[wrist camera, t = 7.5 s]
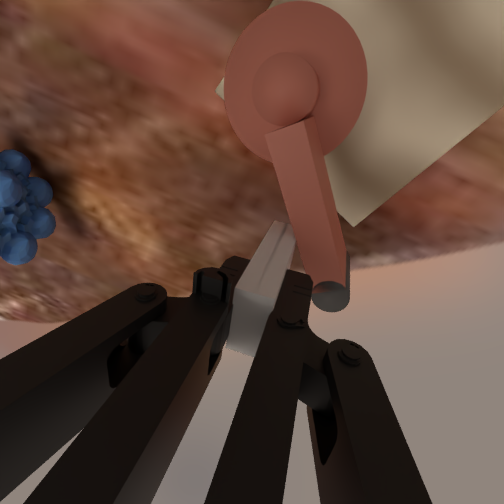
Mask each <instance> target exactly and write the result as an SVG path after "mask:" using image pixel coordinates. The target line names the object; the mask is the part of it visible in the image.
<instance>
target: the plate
mask: <svg viewBox="0 0 504 504" xmlns="http://www.w3.org/2000/svg"><path fill="white" fill-rule="evenodd" d="M291 1H311V2H315V3H319V4H322V5H324V6H326V7H329V8H331V9H332V10H334V11H335V12H337V13H338V14H340V15H341V16H342V17H343V18H344V19H345V20H346V21H347V22H348V23H349V24H350V26H351V27H352V28H353V29H354V31H355V33H356V35H357V36H358V38H359V40H360V42H361V45H362V47H363V50H364V54H365V58H366V63H367V72H368V79H367V91H366V97H365V101H364V105H363V108H362V111H361V113H360V116H359V118H358V120H357V122H356V124H355V126H354V127H353V129H352V130H351V132H350V133H349V134H348V136H347V137H346V138H345V139H344V140H343V142H342V143H341V144H340V145H338V146H337V147H336V148H335V149H334V150H333V151H331V152H330V153H328V154H327V155H325V156H324V159H325V163H326V168H327V172H328V176H329V180H330V184H331V189H332V193H333V197H334V201H335V205H336V209H337V212H338V213H339V214H340V215H342V216H343V217H344V218H345V219H346V220H347V221H348V222H349V223H350V224H351V225H352V226H353V227H355V226H356V225H357V224H358V223H359V222H361V221H362V220H363V219H364V218H366V217H367V216H368V215H369V214H371V213H372V212H373V211H374V210H376V209H377V208H378V207H379V206H381V205H382V204H383V203H384V202H385V201H387V200H388V199H389V198H390V197H392V196H393V195H394V194H395V193H397V192H398V191H399V190H400V189H402V188H403V187H404V186H405V185H406V184H408V183H409V182H410V181H411V180H413V179H414V178H415V177H416V176H418V175H419V174H420V173H421V172H423V171H424V170H425V169H426V168H428V167H429V166H430V165H431V164H432V163H434V162H435V161H436V160H437V159H439V158H440V157H441V156H442V155H444V154H445V153H446V152H447V151H449V150H450V149H451V148H452V147H454V146H455V145H456V144H457V143H458V142H460V141H461V140H462V139H463V138H465V137H466V136H467V135H468V134H470V133H471V132H472V131H473V130H475V129H476V128H477V127H478V126H479V125H481V124H482V123H483V122H484V121H486V120H487V119H488V118H489V117H491V116H492V115H493V114H494V113H496V112H497V111H498V110H499V109H501V108H502V107H503V106H504V0H273V1H272V3H271V5H270V6H269V8H268V9H270V8H272V7H274V6H277V5H279V4H282V3H286V2H291ZM268 9H267V10H268ZM215 92H216V93H217V94H218V95H219V96H220V97H221V98H222V99H223V100H224V78H223V79H222V81H221V82H220V84H219V85H218V87H217V88H216V90H215Z"/></svg>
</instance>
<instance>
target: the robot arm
mask: <svg viewBox="0 0 504 504" xmlns="http://www.w3.org/2000/svg"><path fill="white" fill-rule="evenodd" d="M295 246H296V238H295V235H294V232H293V228H292V225H291V224H288V223H284V222H280V221H276V220H274V222H273V223H272V225H271V227H270V229H269V230H268V232H267V234H266V235H265V237H264V239H263V240H262V242H261V244H260V246H259V247H258V249H257V251H256V252H255V254H254V256H253V257H252V259H251V260H249V259H245V258H241V257H237V256H233V257H231V258H229V259H227V260H226V261H225V262H224V263H223V265H222V266H221V267H220V269H219V268H213V267H210V268H202V269H199V270H197V271H196V272H194V276H193V291H192V294H191V295H190V297H167V292H166V289H165V288H163V287H162V286H161V285H158V284H155V283H141V284H137V285H135V286H132V287H130V288H128V289H127V290H125V291H123V292H121V293H119V294H118V295H116V296H114V297H112V298H110V299H108V300H107V301H105V302H103V303H101V304H99V305H98V306H96V307H94V308H92V309H90V310H89V311H87V312H85V313H83V314H81V315H80V316H78V317H76V318H74V319H72V320H71V321H69V322H67V323H65V324H63V325H62V326H60V327H58V328H56V329H54V330H52V331H51V332H49V333H47V334H45V335H44V336H42V337H40V338H38V339H36V340H34V341H33V342H31V343H29V344H27V345H25V346H24V347H22V348H20V349H18V350H16V351H15V352H13V353H11V354H9V355H7V356H6V357H4V358H2V359H0V501H1V500H3V499H4V498H5V497H6V496H7V495H8V494H9V493H10V492H12V491H13V490H14V489H15V488H16V487H17V486H18V485H20V484H21V483H22V482H23V481H24V480H25V479H26V478H27V477H29V476H30V475H31V474H32V473H33V472H34V471H36V470H37V469H38V468H39V467H40V466H41V465H42V464H43V463H45V461H47V460H48V459H49V458H50V457H51V456H53V455H54V454H55V453H56V452H57V451H58V450H59V449H60V448H62V446H64V445H65V444H66V443H67V442H68V441H69V440H71V439H72V438H73V437H74V436H75V435H76V434H77V433H79V432H80V431H81V430H82V429H83V428H84V429H83V430H82V431H81V432H80V434H79V435H78V436H77V437H76V439H75V440H74V441H73V442H72V443H71V445H70V446H69V447H68V448H67V450H66V451H65V452H64V453H63V455H62V456H61V457H60V458H59V460H58V461H57V462H56V463H55V465H54V466H53V467H52V468H51V470H50V471H49V472H48V474H47V475H46V476H45V477H44V478H43V480H42V481H41V482H40V483H39V485H38V486H37V487H36V488H35V490H34V491H33V492H32V493H31V495H30V496H29V497H28V498H27V500H26V501H25V502H24V503H23V504H151V502H152V500H153V498H154V496H155V494H156V492H157V490H158V488H159V486H160V483H161V481H162V479H163V477H164V475H165V473H166V471H167V469H168V467H169V465H170V463H171V461H172V459H173V456H174V455H175V452H176V450H177V448H178V446H179V444H180V442H181V440H182V438H183V436H184V434H185V432H186V430H187V427H188V426H189V424H190V421H191V419H192V417H193V415H194V413H195V411H196V409H197V407H198V405H199V403H200V401H201V399H202V397H203V395H204V393H205V390H206V388H207V386H208V384H209V382H210V380H211V378H212V376H213V374H214V372H215V370H216V368H217V366H218V364H219V362H220V359H221V355H222V349H223V346H224V344H225V342H226V340H227V343H226V348H228V349H231V350H234V351H237V352H240V353H243V354H246V355H249V356H252V357H254V360H253V363H252V366H251V369H250V372H249V375H248V378H247V380H246V384H245V386H244V390H243V392H242V395H241V398H240V401H239V404H238V407H237V410H236V412H235V415H234V418H233V421H232V424H231V427H230V430H229V433H228V436H227V439H226V442H225V445H224V447H223V450H222V453H221V456H220V459H219V462H218V465H217V468H216V471H215V473H214V477H213V479H212V482H211V485H210V488H209V491H208V494H207V497H206V500H205V503H204V504H282V502H283V495H284V489H285V482H286V475H287V468H288V462H289V455H290V448H291V442H292V435H293V428H294V421H295V415H296V408H297V401H298V399H299V400H300V401H302V402H303V403H305V404H306V405H307V414H308V422H309V428H310V435H311V442H312V449H313V455H314V462H315V469H316V476H317V482H318V490H319V496H320V503H321V504H432V502H431V499H430V497H429V495H428V492H427V490H426V487H425V485H424V483H423V480H422V478H421V476H420V473H419V471H418V468H417V466H416V463H415V461H414V459H413V456H412V454H411V451H410V449H409V447H408V444H407V442H406V439H405V437H404V435H403V432H402V430H401V427H400V425H399V423H398V420H397V418H396V415H395V413H394V411H393V408H392V406H391V403H390V401H389V399H388V396H387V394H386V392H385V389H384V387H383V384H382V382H381V380H380V377H379V375H378V372H377V370H376V367H375V365H374V363H373V360H372V358H371V356H370V355H369V353H368V352H367V351H366V350H365V349H364V348H362V346H360V345H358V344H357V343H355V342H353V341H349V340H345V339H336V340H334V341H332V342H331V343H330V344H329V343H328V342H326V341H324V340H322V339H321V338H319V337H318V336H316V335H315V334H314V333H313V332H312V331H311V329H310V328H309V325H308V314H309V307H310V301H311V295H312V289H313V281H312V279H311V277H310V275H308V274H304V273H300V272H296V271H293V270H290V266H291V262H292V258H293V254H294V250H295Z"/></svg>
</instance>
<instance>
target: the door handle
mask: <svg viewBox="0 0 504 504" xmlns="http://www.w3.org/2000/svg"><path fill="white" fill-rule="evenodd" d="M367 79H368V72H367V63H366V58H365V54H364V50H363V47H362V45H361V42H360V40H359V38H358V36H357V35H356V33H355V31H354V29H353V28H352V27H351V26H350V24H349V23H348V22H347V21H346V20H345V19H344V18H343V17H342V16H341V15H340V14H338V13H337V12H335V11H334V10H332V9H331V8H329V7H326V6H324V5H322V4H319V3H315V2H311V1H291V2H286V3H282V4H279V5H277V6H274V7H272V8H270V9H268V10H266V11H265V12H263V13H262V14H260V15H259V16H258V17H256V18H255V19H254V20H253V21H252V22H251V23H250V24H249V25H248V26H247V27H246V28H245V29H244V31H243V32H242V33H241V35H240V36H239V38H238V39H237V41H236V43H235V45H234V47H233V49H232V51H231V54H230V56H229V59H228V62H227V66H226V70H225V76H224V101H225V108H226V111H227V115H228V118H229V121H230V123H231V126H232V128H233V129H234V131H235V133H236V135H237V136H238V138H239V139H240V140H241V142H242V143H243V144H244V145H245V146H246V147H247V148H248V149H249V150H250V151H252V152H253V153H254V154H256V155H257V156H259V157H260V158H262V159H264V160H266V161H269V162H272V163H273V165H274V168H275V172H276V175H277V178H278V182H279V185H280V188H281V192H282V195H283V198H284V202H285V205H286V208H287V212H288V215H289V218H290V222H291V225H292V228H293V232H294V235H295V238H296V242H297V245H298V248H299V252H300V255H301V258H302V262H303V265H304V268H305V272H306V274H308V275H310V277H311V279H312V281H313V289H312V295H311V299H312V301H313V303H314V304H315V305H316V306H317V307H318V308H319V309H321V310H323V311H326V312H337V311H341V310H342V309H344V308H345V307H346V306H347V305H348V303H349V300H350V256H349V254H348V252H347V251H346V247H345V243H344V239H343V235H342V230H341V226H340V222H339V218H338V214H337V209H336V205H335V201H334V197H333V193H332V189H331V184H330V180H329V176H328V172H327V168H326V163H325V159H324V156H325V155H327V154H328V153H330V152H331V151H333V150H334V149H335V148H336V147H337V146H338V145H340V144H341V143H342V142H343V140H344V139H345V138H346V137H347V136H348V134H349V133H350V132H351V130H352V129H353V127H354V126H355V124H356V122H357V120H358V118H359V116H360V113H361V111H362V108H363V105H364V101H365V97H366V91H367Z"/></svg>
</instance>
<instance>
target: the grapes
mask: <svg viewBox="0 0 504 504" xmlns="http://www.w3.org/2000/svg"><path fill="white" fill-rule="evenodd" d="M30 172H31V163H30V161H29V159H28V158H27V157H26V156H25V155H24V154H23V153H21V152H18V151H16V150H13V149H12V150H4V151H2V152H0V256H1V257H2V258H3V259H4V260H5V261H6V262H8V263H10V264H13V265H19V264H24V263H28V262H29V261H30V260H31V259H33V258H34V257H35V254H36V252H37V247H38V245H37V240H36V239H40V238H46V237H48V236H50V235H51V234H52V233H53V232H54V229H55V227H56V221H55V216H54V215H53V214H52V213H51V212H50V211H49V209H46V208H44V207H45V206H47V205H48V204H49V203H50V202H51V200H52V197H53V191H52V187H51V186H50V184H49V183H48V182H47V181H46V180H45V179H42V178H39V177H29V174H30Z"/></svg>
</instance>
